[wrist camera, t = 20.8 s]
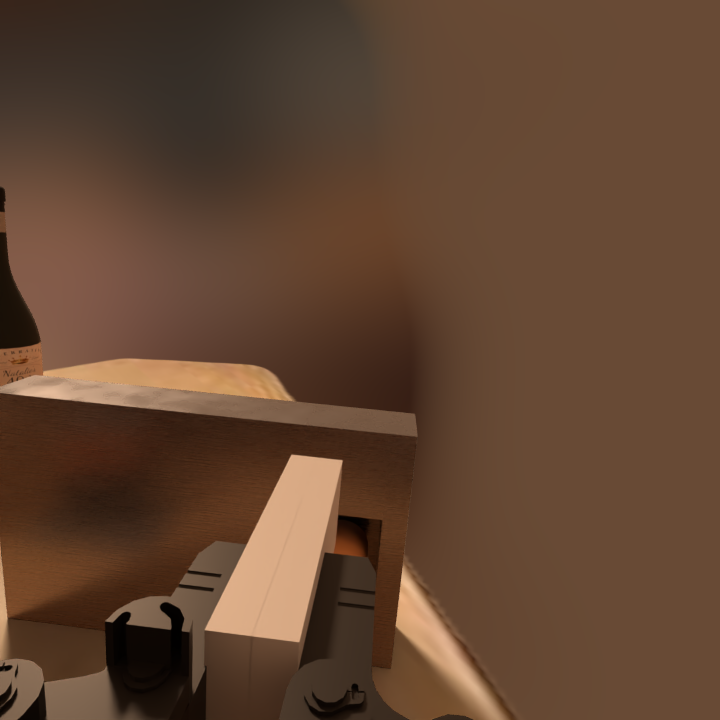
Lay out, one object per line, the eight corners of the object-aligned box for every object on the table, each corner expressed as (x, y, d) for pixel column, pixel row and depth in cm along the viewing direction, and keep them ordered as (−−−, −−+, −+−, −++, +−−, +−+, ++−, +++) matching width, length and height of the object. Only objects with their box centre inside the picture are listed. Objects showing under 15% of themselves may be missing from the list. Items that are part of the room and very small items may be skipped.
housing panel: (7, 617, 32) (-15, 391, 29) (49, 578, 36) (34, 375, 32) (390, 668, 31) (417, 436, 27) (391, 621, 35) (415, 413, 31)
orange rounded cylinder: (297, 619, 27) (301, 564, 26) (312, 564, 32) (316, 516, 31) (360, 627, 27) (365, 572, 26) (365, 570, 32) (370, 523, 31)
